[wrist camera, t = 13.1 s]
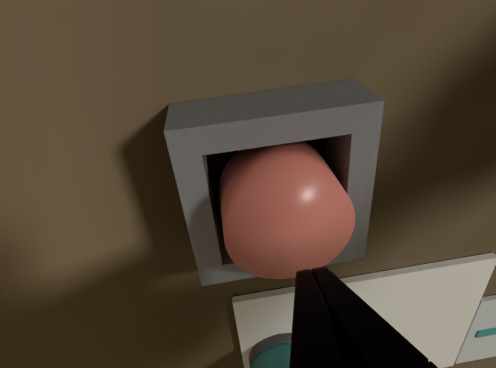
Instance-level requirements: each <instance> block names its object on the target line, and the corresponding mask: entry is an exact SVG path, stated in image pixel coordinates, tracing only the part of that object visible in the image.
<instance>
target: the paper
mask: <svg viewBox="0 0 496 368" xmlns="http://www.w3.org/2000/svg"><path fill="white" fill-rule="evenodd" d="M495 265H496V255H495V254H494V253H488V254H482V255H476V256H470V257H464V258H458V259H452V260H446V261H440V262H435V263H429V264H423V265H417V266H411V267H405V268H399V269H393V270H387V271H382V272H376V273H370V274H364V275H358V276H352V277H346V278H340V280H341V281H342V282H344V283H345V284H346V285H347V286H348V287H349V288H350V289H351V290H352V291H354V292H355V293H356V294H357V295H358V296H359V297H360V298H361V299H362V300H364V301H365V302H366V303H367V304H368V305H369V306H370V307H371V308H372V309H374V310H375V311H376V312H377V313H378V314H379V315H380V316H381V317H382V318H384V319H385V320H386V321H387V322H388V323H389V324H390V325H391V326H392V327H394V328H395V329H396V330H397V331H398V332H399V333H400V334H401V335H402V336H404V337H405V338H406V339H407V340H408V341H409V342H410V343H411V344H412V345H414V346H415V347H416V348H417V349H418V350H419V351H420V352H421V353H422V354H424V355H425V356H426V357H427V358H428V360H429V361H431V362H433V363H434V364H435V365H436V366H437V367H438V368H444V367H449V366H453V365H454V362H455V360H456V357H457V355H458V353H459V350H460V348H461V346H462V343H463V341H464V338H465V336H466V334H467V331H468V329H469V326H470V324H471V322H472V319H473V317H474V315H475V312H476V310H477V307H478V305H479V303H480V300H481V298H482V296H483V293H484V291H485V288H486V286H487V284H488V281H489V279H490V276H491V274H492V272H493V269H494V267H495ZM294 293H295V286H293V287H287V288H281V289H275V290H269V291H264V292H258V293H252V294H246V295H240V296H234V297H232V304H233V309H234V315H235V320H236V326H237V331H238V337H239V342H240V348H241V353H242V358H243V364H244V368H250V365H249V353H250V351H251V350H252V348H253V347H254V346H255V345H256V344H257V343H259V342H260V341H262V340H263V339H265V338H268V337H270V336H273V335H277V334H282V333H292V321H293V307H294Z"/></svg>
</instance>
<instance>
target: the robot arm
mask: <svg viewBox="0 0 496 368" xmlns="http://www.w3.org/2000/svg"><path fill="white" fill-rule="evenodd" d="M289 368H438V367H437V366H436V365H435V364H434V363H433V362H431V361H429V360H428V358H427V357H426V356H425V355H424V354H422V353H421V352H420V351H419V350H418V349H417V348H416V347H415V346H414V345H412V344H411V343H410V342H409V341H408V340H407V339H406V338H405V337H404V336H402V335H401V334H400V333H399V332H398V331H397V330H396V329H395V328H394V327H392V326H391V325H390V324H389V323H388V322H387V321H386V320H385V319H384V318H382V317H381V316H380V315H379V314H378V313H377V312H376V311H375V310H374V309H372V308H371V307H370V306H369V305H368V304H367V303H366V302H365V301H364V300H362V299H361V298H360V297H359V296H358V295H357V294H356V293H355V292H354V291H352V290H351V289H350V288H349V287H348V286H347V285H346V284H345V283H344V282H342V281H341V280H340V279H339V278H338V277H337V276H336V275H335V274H334V273H332V272H331V271H330V270H329V269H328V268H327V267H324V266H322V267H316V268H312V269H311V270H310V269H304V270H298V271H297V272H296V279H295V293H294V307H293V321H292V335H291V349H290V363H289Z"/></svg>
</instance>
